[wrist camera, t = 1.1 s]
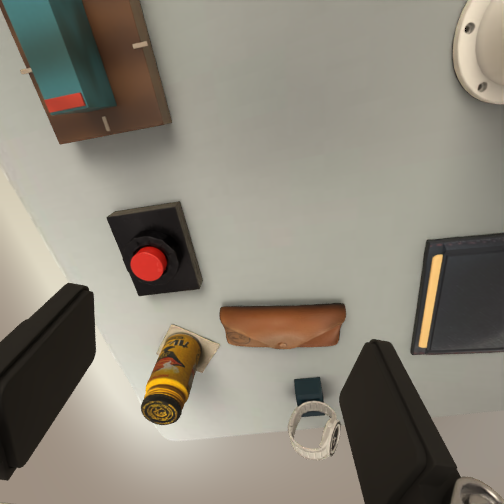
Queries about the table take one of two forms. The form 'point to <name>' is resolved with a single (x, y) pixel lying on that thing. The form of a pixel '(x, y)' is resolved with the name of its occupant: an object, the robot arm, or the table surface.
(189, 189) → the table surface
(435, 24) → the table surface
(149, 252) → the button
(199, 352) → the condiment
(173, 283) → the button box
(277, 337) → the sunglasses case
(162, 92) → the base
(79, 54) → the teal rectangular block
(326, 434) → the watch
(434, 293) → the wallet
